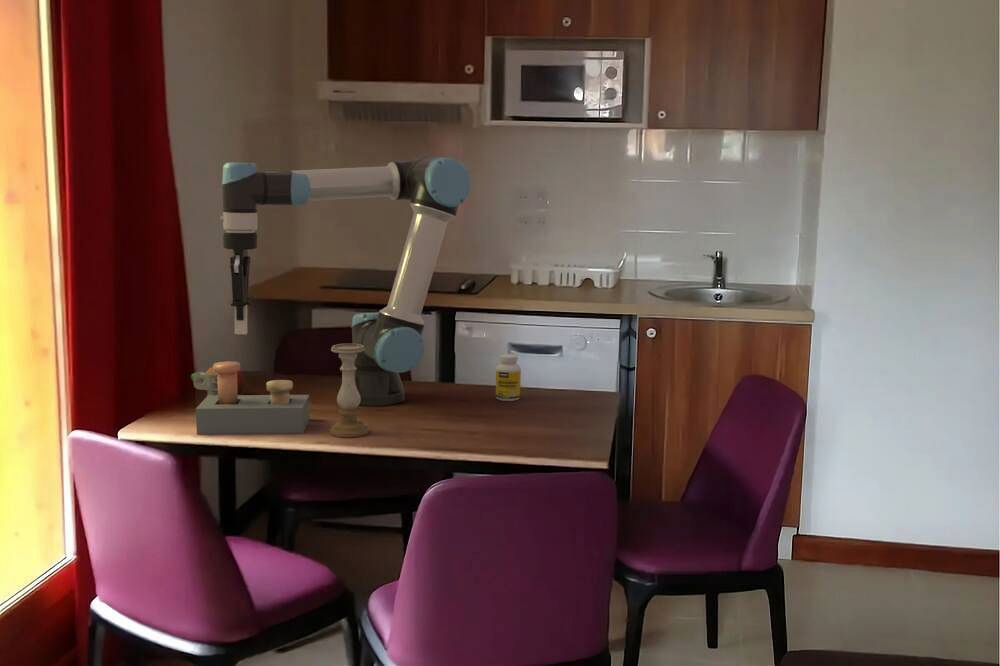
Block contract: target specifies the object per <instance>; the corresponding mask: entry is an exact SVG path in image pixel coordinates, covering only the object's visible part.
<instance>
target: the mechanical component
mask: <svg viewBox="0 0 1000 666" xmlns="http://www.w3.org/2000/svg"><path fill="white" fill-rule="evenodd" d="M190 380H192V382H193V387H194V388H195V389H196V390H201V391H202V390H205V391H207V390H208V392H207V393H206V397H207V396H208V395H218V394H217V390H218V380H217V373H209V372H207V371H205V372H204V371H197V372H195V373H191V375H190Z"/></svg>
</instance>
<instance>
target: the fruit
mask: <svg viewBox="0 0 1000 666" xmlns="http://www.w3.org/2000/svg"><path fill="white" fill-rule="evenodd" d="M227 361H228V360H226V359H224V360H221V361H220V362H227ZM206 372H209V373H217V372H214V369H213V366H211V367H209V368H208V369H207V370H206ZM245 379H246V378H245V376H244V373H243V371H242V370H241V369H240V371H237V393H238V395H240V393H241V392H242V391H243V389H244V387H245V381H246V380H245ZM206 392H207V393H208V390H206ZM217 394H218V390H217Z"/></svg>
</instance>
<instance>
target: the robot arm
mask: <svg viewBox="0 0 1000 666" xmlns="http://www.w3.org/2000/svg"><path fill="white" fill-rule="evenodd" d="M221 185H222V215H221V216H220V218H219V219H220V221H223V222H222V224H223V225H222V226H223V230H225V231H224V232H223V233H222V240H223V241H222V242H223V243H222V246H223V248H224V249H226V250H232V251H233V252H232V256H231V257H230V258H229V259H230V266H229V268H230V272H231V273H230V275H231V293H232V302H231V303H230V306H231V307H234V308H233V310H234V311H233V313H234V315H233V316H234V317H233V318H234V319H233V320H234V335H247V334H248V306H250V305H251V301H249V300H250V297H249V292H250V266H251V256H248V255H249V254H248V250H255V249H257V248H258V234H257V232H256V231H257V230H258V206H259V205H260V206H292V207H295V206H306V205H308V203H309V201H310V202H311V201H325V200H327V201H328V200H330V201H332V200H344V199H345V200H346V199H347V200H350V199H364V198H366V199H367V198H383V197H384V198H385V197H388V198H390V200H392V201H410V203H409V205H410V207H411V209H412V211H413V215H412V219H411V222H410V224H409V225H410V226H409V229H408V233H407V237H406V240H405V244H404V247H403V251H402V253H401V257H400V261H399V264H398V268H397V271H396V274H395V278H394V281H393V284H392V289H391V293H390V295H389V299H388V303H387V306H385V307H384V308H382V309H380V310H379V312H366V313H365V312H364V313H357V314H354V315H353V316H352V322H351V324H352V325H351V334H352V336H351V337H352V338H351V339H352V343H351V344H361V345H363V346H364V347H365V350H364V351H363V352H359V353H357V358H356V359H355V360H354V365H355V366H356V368H357V369H356V370H355V373H354V375H355V384H356V387H357V390H358V392H359V394H360V397H361V401H360V404H359V405H358V406H366V407H367V406H368V407H369V406H370V407H371V406H372V407H376V406H377V407H378V406H390V405H395V404H398V403H401V402H403V401H405V399H406V398H405V397H406V396H405V395H406V394H405V393H406V392H405V388H404V385H403V382H402V379H401V376H400V373H405V372H409V371H410V370H412V369H414V368H415V367H416V366H417V365H418V364H419V363H420V362H421V361H422V359H423V356H424V352H425V343H424V340H423V337H422V334H423V332H424V327H425V321H424V320H423V318H422V312H423V308H424V305H425V303H426V299H427V295H428V291H429V287H430V286H431V285H430V284H431V282H432V277H433V275H434V271H435V267H436V264H437V260H438V257H439V253H440V250H441V246H442V243H443V239H444V236H445V232H446V230H447V226H448V225H447V224H448V223H449V222H450V221H452V220H455V219H456V215H457V212H458V209H459V205H461V204H462V203H464V202H465V201H467V198H468V197H469V196H470V193H471V189H472V178H471V175H470V173H469V171H468V169H467V167H466V166H465V165H464V164H463V163H462V162H461V161H459V160H457V159H455V158H452V157H447V156H437V157H436V156H434V157H433V156H423V157H419V158H413V159H410V160H403V161H391V162H389V163H387V165H386V166H365V167H364V166H363V167H341V168H324V169H322V168H319V169H298V170H297V169H296V170H277V171H274V170H273V171H271V170H265V171H259V170H258V167H257V164H256V163H254V162H231V161H230V162H226V163H225V164H224V165H223V167H222V181H221Z"/></svg>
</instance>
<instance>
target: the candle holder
mask: <svg viewBox="0 0 1000 666" xmlns="http://www.w3.org/2000/svg"><path fill="white" fill-rule="evenodd" d="M330 350H331V352H333V353H335V354H338V358H339V359H340V360H341V366H340V368H339V370H340V371H341V374H342V375H341V377H342V378H341V386H340V388H339V391H338V394H337V395H336V402H337V403H336V404H337V405H338V407H340V409H339V410H338V414H339V415H340V417H341V420H340V421H337V422H335V423H334V424H333V426H331V427H330V429H329V434H330V435H331V436H334V437H338V438H357V437H363V436H365V435H367V434H368V433H369V427H368V426H367V425H365V424H364V423H365V422H363V421H361V420H358V419H357V418H358V416H359V413H360V410H359V408H358V406H360V405H359V404H360V401H361V397H360V394H359V392H358V390H357V387H356V384H355V375H354V373H355V370H356V369H357V368H356V366H355V365H354V360H355V359H356V358H357V353H359V352H363V351H364V350H365V347H364V346H363V345H361V344H352V343H339V344H338V343H337V344H333V345H332V346H331V348H330Z"/></svg>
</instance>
